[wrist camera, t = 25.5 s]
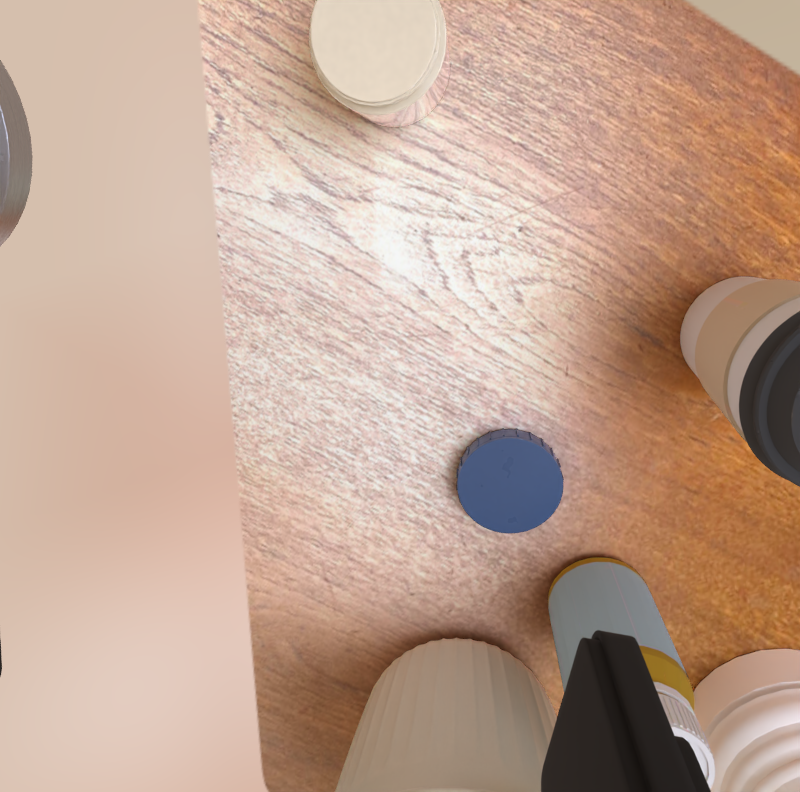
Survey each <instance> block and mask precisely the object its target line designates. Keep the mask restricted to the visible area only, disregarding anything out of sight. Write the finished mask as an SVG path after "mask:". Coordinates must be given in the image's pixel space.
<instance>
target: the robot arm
mask: <svg viewBox="0 0 800 792" xmlns="http://www.w3.org/2000/svg"><path fill="white" fill-rule="evenodd" d="M0 643H1V642H0ZM1 670H2V663H1V644H0V675H1ZM541 792H711V790H710V788H709V786H708V783H707V781H706V779H705V776H704V774H703V771H702V769H701V767H700V764H699V762H698V759H697V757H696V755H695V752H694V750H693V749H692V747H691V745H690V743H689V742H688V741H687V740H686V739H684V738H683V737H678V736H674V733H673V731H672V728H671V725H670V723H669V720H668V718H667V715H666V713H665V710H664V708H663V705H662V703H661V700H660V698H659V695H658V693H657V690H656V688H655V685H654V682H653V680H652V677H651V675H650V672H649V670H648V667H647V665H646V662H645V660H644V657H643V655H642V652H641V650H640V647H639V645H638V642H637V640H636V639H635V638H634V637H633V636H629V635H623V634H617V633H612V632H606V631H600V630H597V631H595V632H594V634H593V635H592V638H591V639H590V638H585V637H583V638H582V639H581V640H580V642H579V645H578V648H577V651H576V655H575V658H574V662H573V665H572V668H571V672H570V675H569V679H568V682H567V686H566V689H565V692H564V696H563V699H562V703H561V706H560V710H559V713H558V716H557V720H556V723H555V727H554V730H553V734H552V737H551V740H550V744H549V747H548V751H547V754H546V758H545V761H544V764H543V769H542V775H541Z"/></svg>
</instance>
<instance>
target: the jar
mask: <svg viewBox="0 0 800 792" xmlns="http://www.w3.org/2000/svg"><path fill="white" fill-rule="evenodd" d="M309 47H310V54H311V59H312V63H313V65H314V68H315V71H316V73H317V75H318V77H319V79H320V81H321V82H322V84H323V85H324V87H325V88H326V89H327V91H328V92H329V93H330V94H331V95H332V96H333V97H334V98H335V99H336V100H337V101H339V102H340V103H341V104H343V105H344V106H346V107H347V108H349V109H351V110H352V111H354V112H356V113H357V114H359V115H361V116H362V117H364V118H365V119H367V120H369V121H371V122H373V123H375V124H378V125H381V126H386V127H403V126H407V125H410V124H413V123H416V122H418V121H419V120H421V119H423V118H424V117H426V116H427V115H428V114H429V113H430V112H431V111H432V110H433V109H434V108H435V107H436V106H437V104H438V103H439V102H440V100H441V98H442V97H443V95H444V92H445V90H446V87H447V84H448V81H449V76H450V53H449V44H448V36H447V28H446V21H445V16H444V13H443V10H442V7H441V4H440V2H439V0H316V2H315V5H314V8H313V11H312V14H311V17H310V28H309Z"/></svg>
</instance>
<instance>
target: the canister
mask: <svg viewBox="0 0 800 792" xmlns="http://www.w3.org/2000/svg"><path fill="white" fill-rule="evenodd" d="M556 720H557V717H556V714H555V711H554V709H553V706H552V704H551V702H550V700H549V698H548V696H547V694H546V692H545V690H544V688H543V686H542V684H541V683H540V682H539V681H538V680H537V679H536V677H535V675H534V674H533V672H532V671H531V670H530V669H529V668H527V667H525V665H524V664H523V662H522V661H521V660H519V659H517V658H515V657H513V656H512V655H511V654H510V653H509V652H508V651H503V650H501V649H500V648H499V647H498V646H496V645H490V644H487V643H485V642H484V641H475V640H472V639H470V638H469V639H460V638H457V637H456V638H454V639H445V638H443V639H441V640H437V641H429V642H428V643H426V644H423V645H417V646H416V647H415V648H414V649H412V650H408V651H406V652H405V653H404V654H403V655H402V656H401V657H398V658H396V659H395V660H394V661H393V662H392V664H391V665H390V666H389V667H388V668H386V669H385V670H384V672H383V673H382V675H381V677H380V679H379V680H378V681H377V682H376V684H375V685H374V687H373V689H372V692H371V694H370V697H369V699H368V701H367V704H366V706H365V709H364V711H363V714H362V717H361V719H360V722H359V724H358V727H357V730H356V732H355V735H354V738H353V741H352V743H351V746H350V749H349V752H348V755H347V758H346V761H345V763H344V766H343V769H342V772H341V775H340V778H339V781H338V784H337V787H336V790H335V792H541V775H542V769H543V764H544V761H545V758H546V754H547V751H548V747H549V744H550V740H551V737H552V734H553V730H554V727H555V723H556Z"/></svg>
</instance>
